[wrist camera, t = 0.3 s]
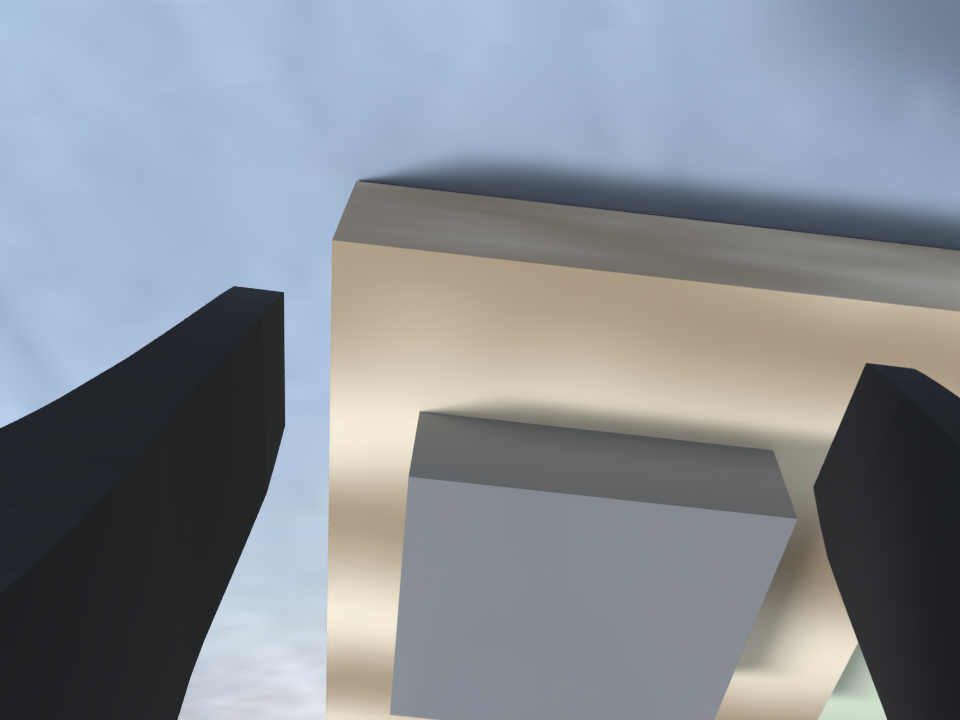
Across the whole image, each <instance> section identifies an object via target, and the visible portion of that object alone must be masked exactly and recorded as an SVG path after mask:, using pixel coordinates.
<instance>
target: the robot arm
mask: <svg viewBox="0 0 960 720" xmlns="http://www.w3.org/2000/svg"><path fill="white" fill-rule="evenodd" d="M284 428H285V362H284V292H277V291H269V290H261V289H253V288H244V287H236V286H234V287H232V288H230V289H229V290H227V291H225V292H224V293H222V294H221V295H219V296H218V297H216V298H215V299H213V300H212V301H211V302H209V303H208V304H206V305H205V306H203V307H202V308H200V309H199V310H198V311H196V312H195V313H193V314H192V315H190V316H189V317H188V318H186V319H185V320H183V321H182V322H180V323H179V324H177V325H176V326H175V327H173V328H172V329H170V330H169V331H167V332H166V333H164V334H163V335H161V336H160V337H158V338H157V339H155V340H154V341H152V342H151V343H149V344H148V345H146V346H145V347H143V348H142V349H140V350H139V351H137V352H136V353H134V354H133V355H131V356H129V357H128V358H126V359H125V360H123V361H121V362H120V363H118V364H116V365H115V366H113V367H111V368H110V369H108V370H106V371H105V372H103V373H101V374H99V375H98V376H96V377H94V378H93V379H91V380H89V381H88V382H86V383H84V384H83V385H81V386H79V387H78V388H76V389H74V390H72V391H71V392H69V393H67V394H66V395H64V396H62V397H61V398H59V399H57V400H55V401H53V402H52V403H50V404H48V405H46V406H44V407H42V408H40V409H38V410H36V411H34V412H33V413H31V414H29V415H27V416H25V417H23V418H21V419H19V420H17V421H15V422H13V423H10V424H8V425H6V426H4V427H2V428H0V720H177V719H178V716H179V713H180V710H181V706H182V703H183V700H184V697H185V693H186V690H187V687H188V684H189V680H190V677H191V674H192V672H193V669H194V666H195V664H196V661H197V658H198V656H199V653H200V650H201V648H202V645H203V642H204V640H205V638H206V635H207V633H208V631H209V628H210V626H211V624H212V621H213V619H214V617H215V614H216V612H217V609H218V607H219V605H220V602H221V600H222V598H223V595H224V593H225V591H226V588H227V586H228V584H229V581H230V579H231V577H232V574H233V572H234V570H235V567H236V565H237V563H238V560H239V558H240V556H241V553H242V551H243V549H244V546H245V544H246V541H247V539H248V537H249V534H250V532H251V530H252V527H253V525H254V522H255V520H256V518H257V515H258V513H259V510H260V508H261V506H262V503H263V501H264V498H265V496H266V493H267V490H268V487H269V483H270V480H271V476H272V472H273V469H274V465H275V462H276V458H277V454H278V450H279V447H280V443H281V439H282V435H283V431H284ZM813 490H814V495H815V500H816V506H817V511H818V517H819V522H820V527H821V532H822V536H823V540H824V545H825V549H826V554H827V558H828V561H829V564H830V567H831V569H832V572H833V575H834V578H835V581H836V584H837V586H838V589H839V592H840V595H841V597H842V600H843V603H844V606H845V608H846V611H847V614H848V617H849V619H850V622H851V625H852V627H853V630H854V633H855V635H856V638H857V641H858V643H859V646H860V649H861V651H862V654H863V657H864V659H865V662H866V665H867V667H868V670H869V673H870V675H871V678H872V681H873V683H874V686H875V689H876V691H877V694H878V697H879V699H880V702H881V705H882V707H883V710H884V713H885V715H886V718H887V720H960V398H959V397H958V396H957V395H955V394H954V393H952V392H951V391H950V390H948V389H947V388H945V387H944V386H942V385H941V384H939V383H938V382H936V381H935V380H933V379H931V378H930V377H928V376H927V375H925V374H923V373H921V372H920V371H918V370H916V369H913V368H905V367H897V366H888V365H880V364H872V363H866V364H865V366H864V369H863V371H862V373H861V376H860V378H859V380H858V383H857V385H856V388H855V390H854V392H853V395H852V397H851V399H850V402H849V404H848V406H847V409H846V411H845V413H844V416H843V418H842V420H841V423H840V425H839V428H838V430H837V432H836V435H835V437H834V439H833V442H832V444H831V446H830V449H829V451H828V453H827V456H826V458H825V460H824V463H823V465H822V468H821V470H820V472H819V475H818V477H817V479H816V482H815V484H814V486H813Z"/></svg>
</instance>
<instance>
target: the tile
mask: <svg viewBox="0 0 960 720" xmlns="http://www.w3.org/2000/svg"><path fill="white" fill-rule="evenodd" d="M796 522H797V516H796V513H795V510H794V508H793V505H792V502H791V499H790V496H789V493H788V491H787V488H786V485H785V482H784V479H783V476H782V474H781V471H780V468H779V465H778V462H777V459H776V457H775V454H774V451H773V450H766V449H757V448H748V447H739V446H729V445H720V444H711V443H702V442H693V441H684V440H675V439H666V438H657V437H648V436H639V435H630V434H621V433H612V432H602V431H593V430H584V429H575V428H566V427H557V426H548V425H539V424H530V423H521V422H512V421H503V420H494V419H484V418H475V417H466V416H457V415H448V414H439V413H430V412H421V411H419V417H418V423H417V429H416V435H415V441H414V447H413V453H412V459H411V465H410V471H409V477H408V490H407V503H406V515H405V528H404V541H403V554H402V567H401V579H400V592H399V605H398V618H397V631H396V643H395V656H394V669H393V682H392V695H391V707H390V715H396V716H406V717H416V718H425V719H435V720H715V717H716V715H717V713H718V710H719V708H720V705H721V703H722V700H723V698H724V696H725V693H726V691H727V688H728V686H729V684H730V681H731V679H732V676H733V674H734V671H735V669H736V667H737V664H738V662H739V659H740V657H741V654H742V652H743V650H744V647H745V645H746V642H747V640H748V638H749V635H750V633H751V630H752V628H753V625H754V623H755V621H756V618H757V616H758V613H759V611H760V609H761V606H762V604H763V601H764V599H765V596H766V594H767V592H768V589H769V587H770V584H771V582H772V580H773V577H774V575H775V572H776V570H777V567H778V565H779V563H780V560H781V558H782V555H783V553H784V551H785V548H786V546H787V543H788V541H789V538H790V536H791V534H792V531H793V529H794V526H795V524H796Z"/></svg>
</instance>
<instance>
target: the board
mask: <svg viewBox="0 0 960 720" xmlns="http://www.w3.org/2000/svg"><path fill="white" fill-rule="evenodd" d="M866 363H872V364H880V365H888V366H897V367H905V368H913V369H916V370H918V371H920V372H921V373H923V374H925V375H927V376H928V377H930V378H931V379H933V380H935V381H936V382H938V383H939V384H941V385H942V386H944V387H945V388H947V389H948V390H950V391H951V392H952V393H954V394H955V395H957V396H958V397H959V398H960V251H959V250H950V249H942V248H933V247H924V246H916V245H907V244H898V243H890V242H881V241H872V240H864V239H855V238H846V237H838V236H829V235H820V234H812V233H803V232H794V231H786V230H777V229H768V228H759V227H751V226H742V225H733V224H725V223H716V222H707V221H699V220H690V219H681V218H673V217H664V216H655V215H647V214H638V213H629V212H621V211H612V210H603V209H595V208H586V207H577V206H568V205H560V204H551V203H542V202H534V201H525V200H516V199H508V198H499V197H490V196H482V195H473V194H464V193H456V192H447V191H438V190H430V189H421V188H412V187H404V186H395V185H386V184H377V183H369V182H360V181H356V183H355V186H354V188H353V191H352V193H351V196H350V198H349V200H348V203H347V205H346V208H345V210H344V213H343V215H342V218H341V220H340V222H339V225H338V227H337V230H336V232H335V235H334V237H333V240H332V297H331V376H330V455H329V534H328V613H327V692H326V720H435V719H425V718H416V717H406V716H396V715H390V707H391V695H392V682H393V669H394V656H395V643H396V631H397V618H398V605H399V592H400V579H401V567H402V554H403V541H404V528H405V515H406V503H407V490H408V477H409V471H410V465H411V459H412V453H413V447H414V441H415V435H416V429H417V423H418V417H419V411H421V412H430V413H439V414H448V415H457V416H466V417H475V418H484V419H494V420H503V421H512V422H521V423H530V424H539V425H548V426H557V427H566V428H575V429H584V430H593V431H602V432H612V433H621V434H630V435H639V436H648V437H657V438H666V439H675V440H684V441H693V442H702V443H711V444H720V445H729V446H739V447H748V448H757V449H766V450H773V451H774V454H775V457H776V459H777V462H778V465H779V468H780V471H781V474H782V476H783V479H784V482H785V485H786V488H787V491H788V493H789V496H790V499H791V502H792V505H793V508H794V510H795V513H796V516H797V522H796V524H795V526H794V529H793V531H792V534H791V536H790V538H789V541H788V543H787V546H786V548H785V551H784V553H783V555H782V558H781V560H780V563H779V565H778V567H777V570H776V572H775V575H774V577H773V580H772V582H771V584H770V587H769V589H768V592H767V594H766V596H765V599H764V601H763V604H762V606H761V609H760V611H759V613H758V616H757V618H756V621H755V623H754V625H753V628H752V630H751V633H750V635H749V638H748V640H747V642H746V645H745V647H744V650H743V652H742V654H741V657H740V659H739V662H738V664H737V667H736V669H735V671H734V674H733V676H732V679H731V681H730V684H729V686H728V688H727V691H726V693H725V696H724V698H723V700H722V703H721V705H720V708H719V710H718V713H717V715H716V717H715V720H818V719H819V717H820V715H821V713H822V711H823V709H824V707H825V705H826V703H827V701H828V699H829V697H830V696H831V694H832V692H833V690H834V688H835V686H836V684H837V682H838V680H839V678H840V676H841V674H842V672H843V671H844V669H845V667H846V665H847V663H848V661H849V659H850V657H851V655H852V653H853V651H854V649H855V647H856V646H857V644H858V641H857V638H856V635H855V633H854V630H853V627H852V625H851V622H850V619H849V617H848V614H847V611H846V608H845V606H844V603H843V600H842V597H841V595H840V592H839V589H838V586H837V584H836V581H835V578H834V575H833V572H832V569H831V567H830V564H829V561H828V558H827V554H826V549H825V545H824V540H823V536H822V532H821V527H820V522H819V517H818V511H817V506H816V500H815V495H814V490H813V486H814V484H815V482H816V479H817V477H818V475H819V472H820V470H821V468H822V465H823V463H824V460H825V458H826V456H827V453H828V451H829V449H830V446H831V444H832V442H833V439H834V437H835V435H836V432H837V430H838V428H839V425H840V423H841V420H842V418H843V416H844V413H845V411H846V409H847V406H848V404H849V402H850V399H851V397H852V395H853V392H854V390H855V388H856V385H857V383H858V380H859V378H860V376H861V373H862V371H863V369H864V366H865V364H866Z"/></svg>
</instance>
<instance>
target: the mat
mask: <svg viewBox="0 0 960 720" xmlns="http://www.w3.org/2000/svg"><path fill="white" fill-rule="evenodd" d="M818 720H887V718H886V715H885V713H884V710H883V707H882V705H881V702H880V699H879V697H878V694H877V691H876V689H875V686H874V683H873V681H872V678H871V675H870V673H869V670H868V667H867V665H866V662H865V659H864V657H863V654H862V651H861V649H860V646H859V643H858V644H857V646H856V647H855V649H854V651H853V653H852V655H851V657H850V659H849V661H848V663H847V665H846V667H845V669H844V671H843V672H842V674H841V676H840V678H839V680H838V682H837V684H836V686H835V688H834V690H833V692H832V694H831V696H830V697H829V699H828V701H827V703H826V705H825V707H824V709H823V711H822V713H821V715H820V717H819V719H818Z"/></svg>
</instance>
